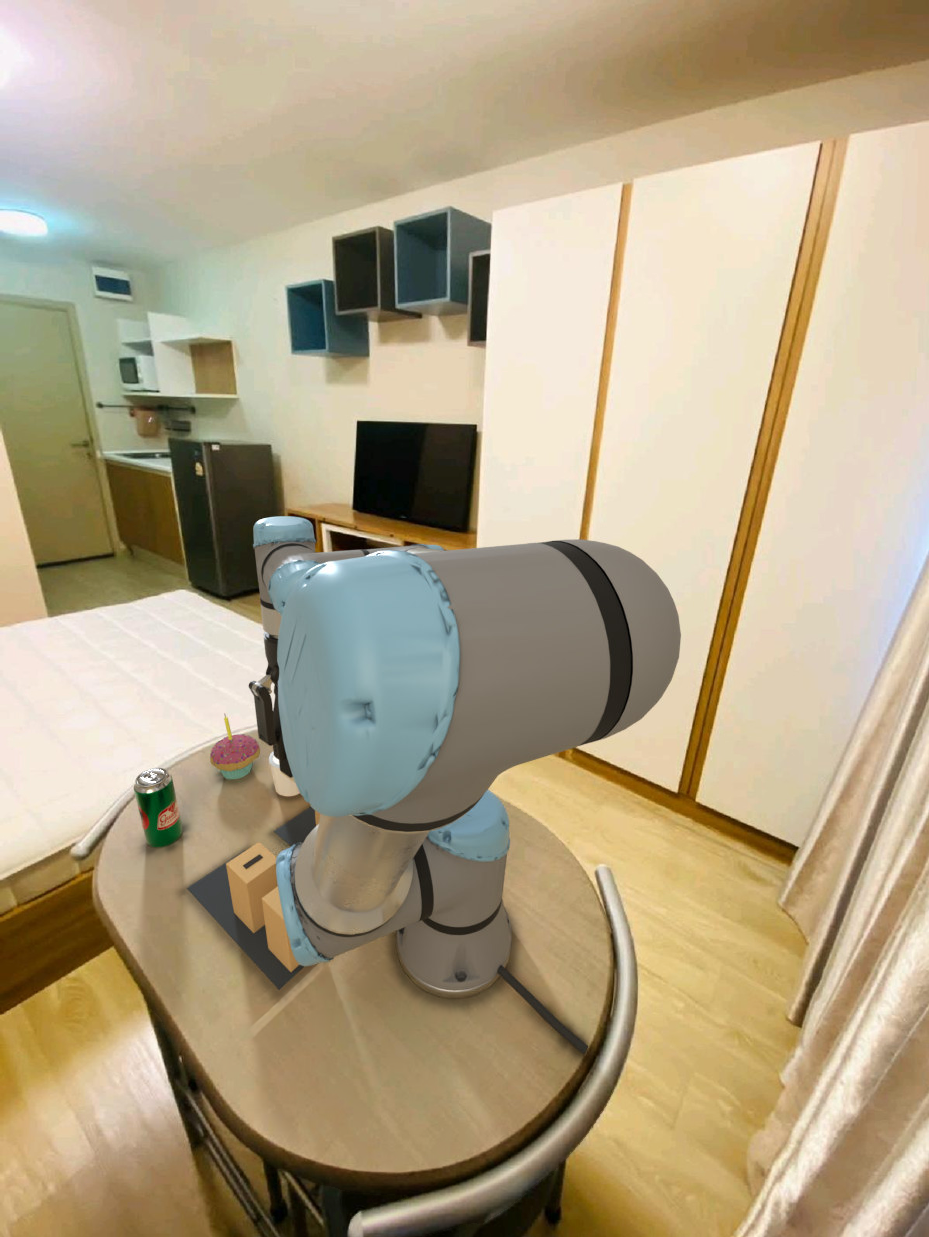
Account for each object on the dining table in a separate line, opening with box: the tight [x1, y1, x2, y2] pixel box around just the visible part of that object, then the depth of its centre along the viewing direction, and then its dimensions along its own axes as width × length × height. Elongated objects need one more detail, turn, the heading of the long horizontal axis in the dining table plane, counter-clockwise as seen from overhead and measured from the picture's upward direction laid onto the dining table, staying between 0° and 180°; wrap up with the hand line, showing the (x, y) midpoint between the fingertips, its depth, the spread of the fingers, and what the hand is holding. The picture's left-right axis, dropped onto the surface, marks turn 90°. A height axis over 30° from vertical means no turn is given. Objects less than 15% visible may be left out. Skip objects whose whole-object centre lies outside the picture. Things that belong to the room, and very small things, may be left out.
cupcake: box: [209, 712, 261, 780], centre depth 95 cm, size 9×8×12 cm
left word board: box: [186, 841, 306, 991], centre depth 70 cm, size 22×9×10 cm, turn 53°
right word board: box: [273, 806, 320, 847], centre depth 80 cm, size 22×9×10 cm, turn 53°
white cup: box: [268, 751, 300, 797], centre depth 93 cm, size 7×7×7 cm
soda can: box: [133, 767, 183, 849], centre depth 80 cm, size 5×5×12 cm
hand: (302, 764), depth 82 cm, fingers closed on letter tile, 5 cm apart
